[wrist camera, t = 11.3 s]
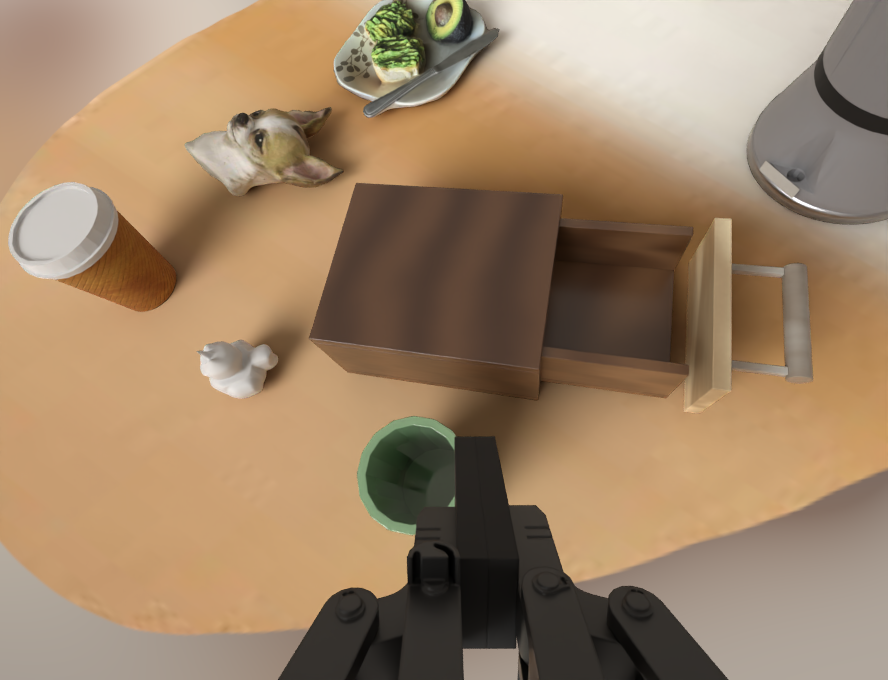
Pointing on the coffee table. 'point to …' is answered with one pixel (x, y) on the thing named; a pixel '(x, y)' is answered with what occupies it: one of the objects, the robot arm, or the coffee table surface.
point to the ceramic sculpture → (264, 150)
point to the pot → (407, 472)
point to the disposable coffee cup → (89, 247)
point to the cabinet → (442, 287)
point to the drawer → (657, 312)
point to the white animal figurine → (237, 367)
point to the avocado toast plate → (410, 52)
